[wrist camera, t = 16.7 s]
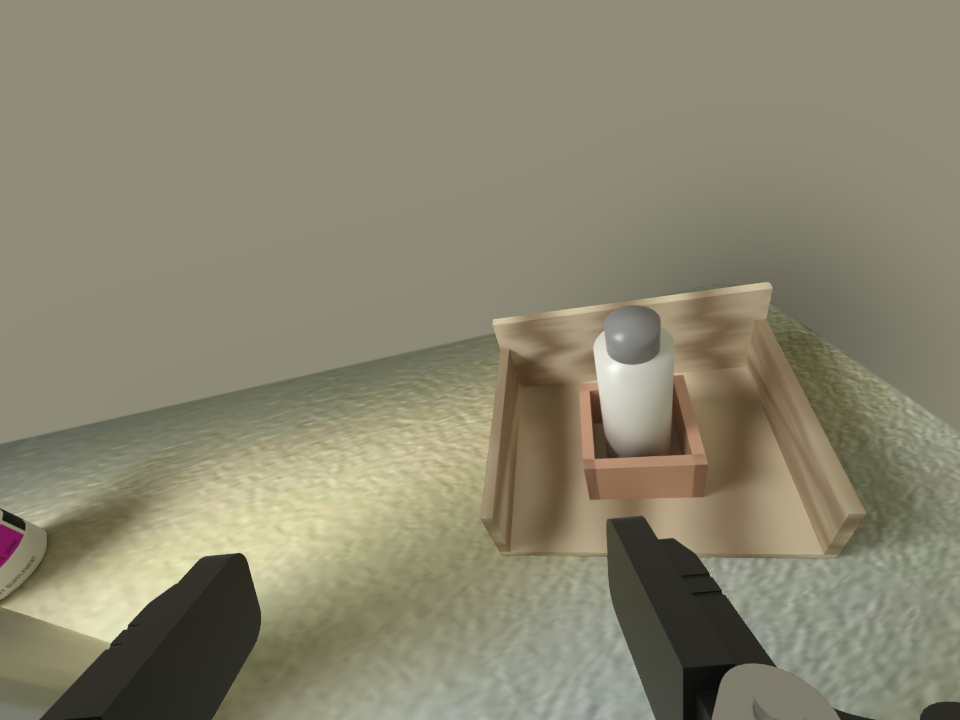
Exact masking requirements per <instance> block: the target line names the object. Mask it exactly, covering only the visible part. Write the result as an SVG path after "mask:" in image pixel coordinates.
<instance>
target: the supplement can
mask: <svg viewBox="0 0 960 720" xmlns="http://www.w3.org/2000/svg"><path fill="white" fill-rule="evenodd" d="M46 550H47V533H46V532H45V531H44V530H43V529H42V528H40V527H38V526H36V525H34V524H32V523H30V522H28V521H26V520H24V519H22V518H19V517H17V516H15V515H13V514H11V513H9V512H7V511H5V510H3V509H1V508H0V600H1V599H3V598H5V597H7V596H8V595H10V594H11V593H12V592H13V591H14V590H16V589H17V588H18V587H19V586H21V585H22V584H23V583H24V582H25V581H26V579H27V578H28V577H29V576H30V575H31V574H32V573H33V572H34V571H35V569H36V568H37V566H38V565H39V563H40V562H41V561H42V559H43V557H44V554H45V552H46Z"/></svg>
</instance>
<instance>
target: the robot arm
mask: <svg viewBox="0 0 960 720" xmlns="http://www.w3.org/2000/svg"><path fill="white" fill-rule="evenodd" d="M606 535H607V556H608V577H609V587H610V593H611V598H612V602H613V606H614V610H615V613H616V615H617V618H618V621H619V623H620V626H621V629H622V631H623V634H624V637H625V639H626V642H627V645H628V647H629V650H630V653H631V655H632V658H633V660H634V663H635V666H636V668H637V671H638V674H639V676H640V679H641V682H642V684H643V687H644V690H645V692H646V695H647V698H648V700H649V703H650V706H651V708H652V711H653V714H654V716H655V719H656V720H874V719H869V718H864V717H860V716H856V715H852V714H848V713H845V712H842V711H839V710H837V709H834V708H833V707H832V706H831V705H830V703H829V702H828V701H827V700H826V699H825V698H824V697H823V696H822V695H821V694H820V693H819V692H818V691H817V690H815V689H814V688H813V687H812V686H810V685H809V684H808V683H806V682H805V681H803V680H802V679H800V678H798V677H797V676H795V675H793V674H791V673H789V672H787V671H784V670H782V669H779V668H777V667H776V665H775V664H774V663H773V661H772V660H771V659H770V657H769V656H768V654H767V653H766V652H765V650H764V649H763V647H762V646H761V645H760V643H759V642H758V640H757V639H756V638H755V636H754V635H753V633H752V632H751V631H750V629H749V628H748V626H747V625H746V624H745V622H744V621H743V619H742V618H741V617H740V615H739V614H738V612H737V611H736V610H735V608H734V607H733V606H732V604H731V603H730V601H729V600H728V599H727V597H726V596H725V595H723V594H722V590H721V589H720V587H719V586H718V585H717V583H716V582H715V580H714V579H713V578H712V577H710V574H709V572H708V571H707V569H706V568H705V566H704V565H703V564H702V562H701V561H700V559H699V558H698V557H697V555H696V554H695V553H694V552H693V551H691V550H690V549H688V548H687V547H685V546H684V545H683V544H681V543H680V542H678V541H677V540H676V539H674V538H667V539H658V538H657V536H656V535H655V533H654V532H653V530H652V528H651V527H650V525H649V524H648V522H647V520H646V519H645V518H644V517H643V516H632V517H621V518H611V519H607V522H606ZM260 626H261V611H260V607H259V603H258V599H257V596H256V592H255V588H254V584H253V581H252V577H251V573H250V569H249V566H248V562H247V559H246V558H245V556H244V555H243V554H241V553H235V554H225V555H214V556H205V557H203V558H201V559H200V560H199V561H198V562H197V563H196V564H195V565H194V566H193V567H192V568H191V569H190V570H189V571H188V573H187V574H186V575H185V576H184V577H183V578H182V579H181V580H180V581H179V582H178V584H175V585H173V586H172V587H171V588H169V589H168V590H167V591H165V592H164V593H162V594H161V595H160V596H158V597H157V598H155V599H154V600H153V601H151V602H150V603H149V604H148V605H147V606H146V607H145V608H144V609H143V610H142V611H141V612H140V613H139V614H138V615H137V616H136V617H135V618H134V620H133V621H132V622H131V623H130V624H129V625H128V629H127V630H123V631H122V632H121V633H120V634H119V635H118V637H117V638H116V639H115V640H114V641H113V642H112V643H109V642H106V641H102V640H99V639H96V638H93V637H90V636H87V635H84V634H81V633H78V632H75V631H72V630H69V629H66V628H63V627H60V626H57V625H54V624H51V623H48V622H45V621H42V620H39V619H36V618H33V617H30V616H27V615H24V614H20V613H17V612H14V611H11V610H8V609H5V608H2V607H0V720H212V718H213V716H214V715H215V713H216V711H217V709H218V708H219V706H220V704H221V702H222V701H223V699H224V697H225V695H226V694H227V692H228V690H229V689H230V687H231V685H232V683H233V682H234V680H235V678H236V676H237V675H238V673H239V671H240V669H241V668H242V666H243V664H244V662H245V661H246V659H247V657H248V655H249V654H250V652H251V650H252V648H253V647H254V645H255V643H256V641H257V638H258V635H259V631H260ZM920 720H960V703H959V702H939V703H935V704H932V705H929V706H928V707H927V708H925V709H924V710H923V712H922V714H921V716H920Z"/></svg>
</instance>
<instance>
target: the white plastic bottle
mask: <svg viewBox="0 0 960 720" xmlns="http://www.w3.org/2000/svg"><path fill="white" fill-rule="evenodd" d="M674 349H675V345H674V341H673V338H672V337H671V335H670V334H669V333H668V332H667V331H666V330H665V329H663V328H662V327H661V320H660V317H659V315H658V314H657V313H656V312H655V311H654V310H652V309H650V308H648V307H645V306H640V305H629V306H624V307H620V308H618V309H615V310H614V311H612V312H611V313H610V314H608V316H607V317H606V318H605V321H604V331H603V332H602V333H601V334H600V335H599V336H598V337H597V339H596V341H595V343H594V348H593V351H594V358H595V366H596V374H597V381H598V389H599V397H600V404H601V412H602V419H603V427H604V435H605V442H606V450H607V457H608V458H628V457H649V456H670V452H671V426H672V400H673V375H674Z"/></svg>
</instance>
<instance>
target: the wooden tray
mask: <svg viewBox="0 0 960 720" xmlns="http://www.w3.org/2000/svg"><path fill="white" fill-rule="evenodd" d="M771 294H772V286H771V284H770V283H769V282H765V283H758V284H750V285H743V286H736V287H728V288H721V289H714V290H706V291H699V292H691V293H684V294H677V295H669V296H662V297H655V298H647V299H640V300H633V301H626V302H618V303H611V304H603V305H596V306H589V307H581V308H574V309H567V310H559V311H552V312H544V313H537V314H530V315H522V316H515V317H509V318H501V319H494V320H493V328H494V331H495V334H496V337H497V340H498V343H499V346H500V349H501V351H500V359H499V368H498V376H497V384H496V393H495V401H494V410H493V418H492V427H491V435H490V443H489V452H488V460H487V469H486V477H485V486H484V494H483V502H482V511H481V520H482V522H483V524H484V525H485V527H486V529H487V531H488V532H489V534H490V536H491V538H492V539H493V541H494V543H495V545H496V546H497V548H498V550H499V552H500V553H501V555H553V556H607V535H606V522H607V519H611V518H621V517H632V516H643V517H644V518H645V519H646V520H647V522H648V524H649V525H650V527H651V528H652V530H653V532H654V533H655V535H656V536H657V538H658V539H667V538H674V539H676V540H677V541H678V542H680V543H681V544H683V545H684V546H685V547H687V548H688V549H690V550H691V551H693V552H694V553H695V554H696V555H697V557H745V558H837V557H838V555H839V554H840V552H841V551H842V550H843V548H844V547H845V545H846V544H847V542H848V541H849V539H850V538H851V536H852V535H853V533H854V532H855V530H856V529H857V527H858V526H859V525H860V523H861V522H862V520H863V519H864V517H865V516H866V514H867V513H866V511H865V509H864V507H863V505H862V504H861V502H860V500H859V498H858V496H857V494H856V492H855V490H854V488H853V486H852V484H851V482H850V480H849V478H848V476H847V474H846V473H845V471H844V469H843V467H842V465H841V463H840V461H839V459H838V457H837V455H836V453H835V451H834V449H833V447H832V445H831V444H830V442H829V440H828V438H827V436H826V434H825V432H824V430H823V428H822V426H821V424H820V422H819V420H818V418H817V416H816V414H815V413H814V411H813V409H812V407H811V405H810V403H809V401H808V399H807V397H806V395H805V393H804V391H803V389H802V387H801V385H800V384H799V382H798V380H797V378H796V376H795V374H794V372H793V370H792V368H791V366H790V364H789V362H788V360H787V358H786V356H785V354H784V353H783V351H782V349H781V347H780V345H779V343H778V341H777V339H776V337H775V335H774V333H773V331H772V329H771V327H770V325H769V324H768V322H767V320H766V317H767V312H768V308H769V303H770V298H771ZM629 305H640V306H645V307H648V308H650V309H652V310H654V311H655V312H656V313H657V314H658V315H659V317H660V320H661V327H662V328H663V329H665V330H666V331H667V332H668V333H669V334H670V335H671V337H672V338H673V341H674V345H675V349H674V375H673V400H672V426H671V452H670V456H649V457H628V458H608V457H607V450H606V442H605V435H604V427H603V419H602V412H601V404H600V397H599V389H598V381H597V374H596V366H595V358H594V351H593V348H594V343H595V341H596V339H597V337H598V336H599V335H600V334H601V333H602V332H603V331H604V321H605V318H606V317H607V316H608V314H610V313H611V312H612V311H614V310H615V309H618V308H620V307H624V306H629Z"/></svg>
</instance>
